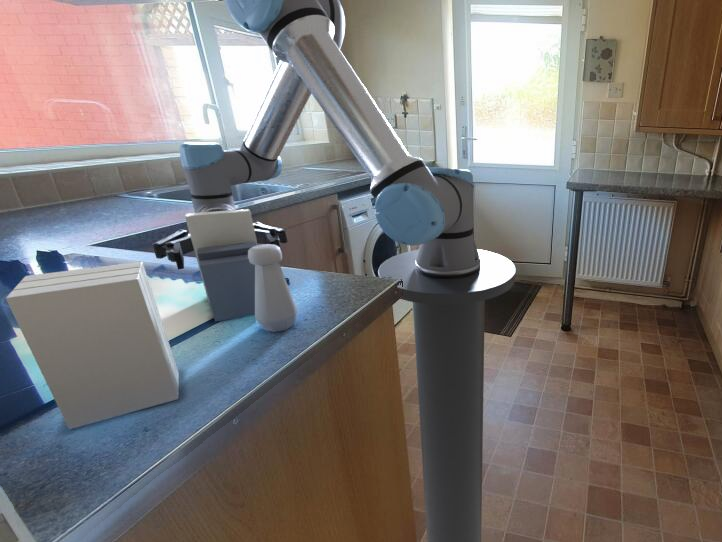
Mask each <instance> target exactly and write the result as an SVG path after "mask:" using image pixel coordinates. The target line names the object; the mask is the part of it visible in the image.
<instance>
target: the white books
mask: <svg viewBox="0 0 722 542" xmlns="http://www.w3.org/2000/svg"><path fill="white" fill-rule="evenodd" d="M143 262H144V261H133V262H125V263H118V264H117V263H116V264H110V265H102V266H94V267H86V268H79V269H70V270H62V271H54V272H46V273H39V274H30V275H25V276H24V277H23V278H22V279H21V280H20V281H19V283H18V284H17V285H16V286H15V287H14V288H13V289H12V290H11V292H10V293H9V294H8V295H6V297H5V300H6V302H7V304H8V306H9V309H10V311H11V313H12V314H13V317H14V319H15V321H16V323H17V325H18V327H19V330H20V331H21V334H22V335H23V338H24V339H25V341H26V343H27V346H28V347H29V350H30V352H31V354H32V356H33V358H34V360H35V362H36V364H37V366H38V368H39V370H40V373H41V374H42V376H43V379H44V381H45V383H46V385H47V387H48V389H49V391H50V393H51V395H52V397H53V399H54V401H55V404H56V406H57V408H58V410H59V412H60V414H61V416H62V419H64V422H65V424H66V426H67V428H68V430H73V429H76V428H80V427H83V426H88V425H91V424H95V423H98V422H101V421H102V422H103V421H105V420H109V419H112V418H115V417H120V416H123V415H127V414H130V413H134V412H136V411H141V410H145V409H148V408H152V407H155V406H160V405H162V404H166V403H169V402H174V401H175V400H179V399H180V397H179V395H180V393H179V392H180V391H179V387H180V386H179V385H180V381H179V380H180V372H179V369H178V366H177V362H176V360H175V356H174V354H173V351H172V348H171V344H170V341H169V338H168V335H167V332H166V329H165V327H164V323H163V320H162V317H161V314H160V311H159V308H158V304H157V303H156V299H155V296H154V293H153V290H152V286H151V284H150V281H149V278H148V274H147V272H146V269H145V265H144V263H143Z"/></svg>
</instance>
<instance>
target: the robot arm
mask: <svg viewBox="0 0 722 542" xmlns="http://www.w3.org/2000/svg"><path fill="white" fill-rule="evenodd" d="M224 3H225V6H226V8H227V11H228V13H229V15H230V16H231V18H232V20H234V22H236V24H237V25H239V26H240V27H241V28H243V29H244V30H246V31H247V32H249V33H251V34H258V35H259V36H260V37H261V38H262V40H263V41H264V43H265V44H266V45H267V47H268V49H269V50H270V52H271V53H272V54H273V55H274V57H275V58H276V59H277V60H278V61H279V63H278V65H277V67H276V69H275V71H274V74H273V76H272V78H271V81H270V83H269V84H268V87H267V88H266V91H265V93H264V96H263V98H262V100H261V102H260V104H259V106H258V109H257V111H256V113H255V115H254V117H253V120H252V122H251V124H250V126H249V129H248V131H247V133H246V135H245V137H244V139H243V142H242V144H241V146H240V148H238V149H232V150H229V149H228V150H224V149H223V147H222V145H221V144H219V143H218V142H209V141H208V142H204V141H203V142H184V143H182V144H180V146H179V148H178V149H179V156H180V162H181V167H182V168H183V172H184V176H185V179H186V182H187V186H188V189H189V193H190V199H191V204H192V207H193V210H194V213H203V212H215V211H228V210H237V209H236V204H235V200H234V195H233V190H232V186H236V185H243V184H249V183H256V182H257V183H258V182H264V181H265V182H266V181H270V180H271V179H276V178H278V177H279V176H280V175H281V173H282V172H283V161H282V158H281V153H282V152H283V149H284V148H285V145H286V144H287V142H288V140H289V138H290V136H291V134H292V132H293V130H294V128H295V126H296V124H297V122H298V120H299V118H300V117H301V115H302V113H303V111H304V109H305V108H306V105H307V103H308V101H309V99H310V97H311V95H312V96H313V98H314V99H315V101H316V102H317V104H318V105H319V107H320V108H321V110H322V111H323V112H324V114H325V116H327V118H328V119H329V121H330V122H331V124H332V125H333V127H334V128H335V129H336V131H337V133H338V134H339V135H340V137H341V138H342V140H343V141H344V142H345V144H346V146H347V147H348V148H349V150H350V151H351V152H352V155H354V157H355V158H356V160H357V161H358V162H359V164H360V165H361V167H362V168H363V170H364V172H365V173H366V174H367V175H368V177H369V179H370V181H371V182H370V188H369V192H370V194H371V196H372V197H373V199H374V201H375V204H374V209H375V212H374V214H375V219H376V222H377V224H378V226H379V227H380V229H381V230H382V231H383V232H384V234H385V235H386V236H388V237H389V238H390V239H391V240H393V241H394V242H396V243H399V244H402V245H406V246H418V249H417V250H418V253H417V257H416V261H415V263H416V270H417V271H418V272H419V273H421V274H423V275H425V276H429V277H434V278H445V279H449V278H461V277H466V276H470V275H472V274H475V273H476V272H478V271H479V270H480V268H481V260H480V256H479V253H478V250H477V249H478V248H477V243H476V242H475V241H476V240H475V238H474V189H475V184H474V175H473V173H472V171H470V170H469V169H463V168H449V167H437V166H436V167H435V166H427V164H426V163H425V161H424V160H423V159H422V158H420V157H417V156H412V155H411V154H409V152H408V151H407V149H406V147H405V146H404V145H403V142H402V141H401V139H400V138H399V137H398V135H397V134H396V132H395V131H394V129H393V127H392V126H391V124H390V123H389V122H388V120H387V119H386V116H385V115H384V114H383V113H382V111H381V109H380V108H379V107H378V105H377V104H376V102H375V100H374V99H373V97H372V96H371V94H370V93H369V91H368V90H367V88H366V86H365V85H364V83H362V81H361V79H360V78H359V77H358V74H357V73H356V72H355V69H354V68H353V67H352V65H351V64H350V63H349V61H348V60H347V58H346V57H345V55H344V54H343V52H342V51H341V48H342V45H343V42H344V38H345V31H346V17H345V12H344V8H343V6H342V3H341V1H340V0H224ZM253 226H254V231H255V236H256V240H257V244H258V245H262V244H273V245H277V246H278V247H281V244H287V243H288V242H289V241H288V237H287V230H286V229H284V228H280V227H275V226H272V225H266V224H263V223H262V222H259V221H256V222H253ZM151 246H152V249H153V252H154V255H155V258H156V259H158V260H159V259H164V258H166V257H167V261H170V263H176V267H177V270H184V269H185V257H184V255H186V254H188V253H191V252H195V251H194V247H193V244H192V240H191V236H190V233H189V231H188V230H185V229H182V228H180V229H177V230H176V231H175V233H172V234H170V235H168V236H165V237H164V238H161V239H159V240H158V241H156V242H153V243H151Z"/></svg>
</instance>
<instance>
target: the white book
mask: <svg viewBox="0 0 722 542" xmlns="http://www.w3.org/2000/svg"><path fill="white" fill-rule="evenodd" d="M184 218H185V221H186V225H187V229H188V233H190V236H191V240H192V244H193V247H194V251H193V252H194V254H195V258H196V263H197V265H198V269H199V272H200V276H201V280H202V283H203V287H204V291H205V295H206V298H207V300H208V302H210V301H209V298H208V294H207V290H206V287H205V283H204V279H203V276H202V272H201V268H200V264H199V258H198V254H197V248H204V247H213V246H221V245H229V244H238V243H246V242H255V243H256V244H257V245H258V243H257V240H256V236H255V231H254V226H253V225H254V222H253V217H252V212H251V210H250V208H241V209H236V210H228V211H215V212H203V213H195V212H191V213H185V214H184Z"/></svg>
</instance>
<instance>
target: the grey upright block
mask: <svg viewBox="0 0 722 542" xmlns="http://www.w3.org/2000/svg"><path fill="white" fill-rule="evenodd" d="M257 245H258V243H257V244H256V243H255V242H246V243H238V244H229V245H221V246H213V247H204V248H197V254H198V258H199V264H200V268H201V272H202V276H203V279H204V283H205V287H206V290H207V294H208V298H209V301H208V302H209V305H210V308H211V312H212V316H213V319H214V322H215V323H216V322H222V321H227V320H231V319H236V318H242V317H246V316H251V315H255V265H254V264H251V263H250V262H249V259H248V250H249V249H250V248H252V247H254V246H257ZM202 276H201V277H202ZM205 287H204V288H205ZM208 298H207V299H208Z"/></svg>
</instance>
